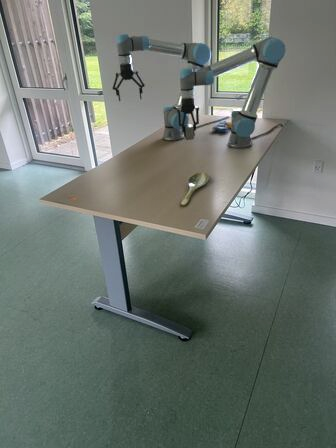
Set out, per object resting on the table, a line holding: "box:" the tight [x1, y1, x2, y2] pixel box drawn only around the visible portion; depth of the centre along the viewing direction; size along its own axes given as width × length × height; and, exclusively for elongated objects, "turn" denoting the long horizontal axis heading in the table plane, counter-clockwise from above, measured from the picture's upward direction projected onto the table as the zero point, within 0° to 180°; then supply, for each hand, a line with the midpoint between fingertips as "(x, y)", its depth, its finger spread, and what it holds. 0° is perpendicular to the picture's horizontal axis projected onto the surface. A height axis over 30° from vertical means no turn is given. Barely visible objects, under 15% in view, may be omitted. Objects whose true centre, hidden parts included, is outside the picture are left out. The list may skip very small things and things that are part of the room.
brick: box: [184, 123, 195, 141], centre depth 208 cm, size 7×5×8 cm
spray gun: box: [211, 120, 231, 133], centre depth 256 cm, size 21×4×15 cm
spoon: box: [180, 171, 210, 207], centre depth 170 cm, size 35×11×2 cm, turn 159°
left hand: (130, 99), depth 214 cm, fingers open, 13 cm apart
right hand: (189, 136), depth 209 cm, fingers closed on brick, 5 cm apart
